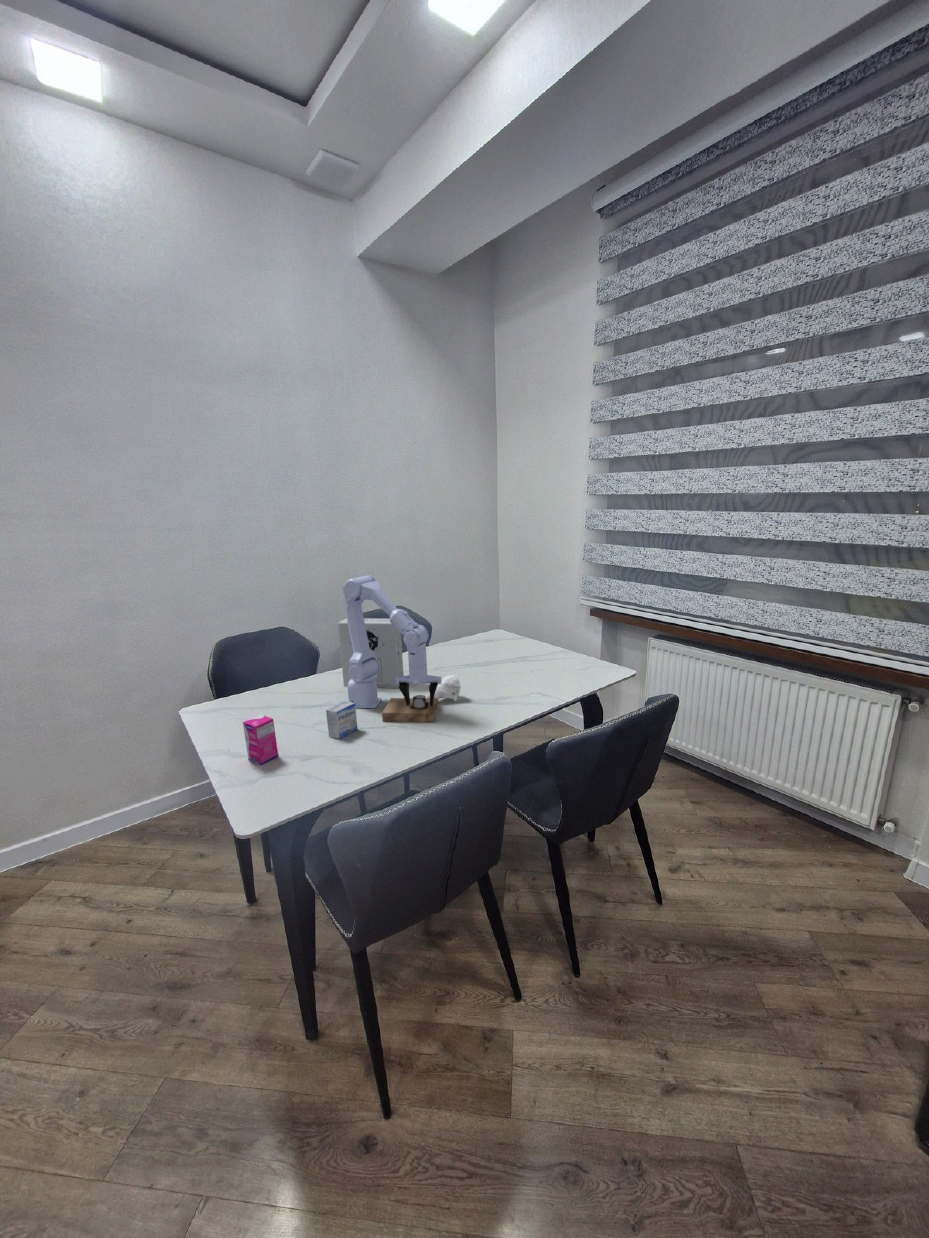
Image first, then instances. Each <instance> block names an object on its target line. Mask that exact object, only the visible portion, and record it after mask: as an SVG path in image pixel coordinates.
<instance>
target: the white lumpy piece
mask: <svg viewBox="0 0 929 1238" xmlns="http://www.w3.org/2000/svg"><path fill="white" fill-rule="evenodd" d="M461 687H462V686H461V684H460V680H459V678H458V677H456V675H453V674H451V675H450V674H449V675H447V676H444V677H443V678H442V682H441V684H438V686H437V688H436V691H435V695H434V698H438V700H440V699H451V700H452V702H454V703H455V702H457V700H458V698H459V696H460V692H461ZM426 698H430V692H428V693H427V695H426Z"/></svg>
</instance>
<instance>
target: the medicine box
mask: <svg viewBox="0 0 929 1238" xmlns="http://www.w3.org/2000/svg"><path fill="white" fill-rule="evenodd" d="M325 713H326V714H325V715H326V721H327V733H328V737H331V738H335V739H338V740H341V739H343V738H344V737H346V736H347V735H349V734H352V733H353V732H355V731H357V730H358V719H357V718H358V717H357V708H356V706H355V703H352V702H349V700H348V701H347V700H344V701H343V702H340V703H338V704H336V705H334V706H331V707H329V708H328V709H326V711H325Z"/></svg>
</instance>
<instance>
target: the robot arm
mask: <svg viewBox="0 0 929 1238" xmlns="http://www.w3.org/2000/svg"><path fill="white" fill-rule="evenodd" d="M342 590H343V591H342V592H343V608H344V612H345V617H346V618H347V623H348V628H349V633H350V638H351V643H352V648H353V655H352V657H351V659H350V661H349V664H350V668H349V674H350V677H351V678H352V679H350V681H349V683H348V686H347V696H348V701H349V702H352V703H355V706H356V709H359V708H360V709H376V708H377V707H378V705H379V703H380V702H381V701H382V697H379V696H378V688H377V682H376V677H377V673H378V672H379V670H380V664H379V662H378V660H377V658H376V654H375V653H374V652H372V651H371V650H370V648H369V643H368V638H367V633H366V627H365V622H364V614H363V613H364V612H363V608H362V604H363V603H364V602H365V601H366V600H368V601H372V602H374V603H375V605H377V606H378V607H379V608H380V609H381V610H382V611H383V612H385V614H386V615H388V616H389V619H390V623H391V624H392V625H393V626H394V627H395V628H396V629H397V630H398V631H399V632H400V633H401V636H402V637H403V639H402V640H403V643H404V645H405V646H406V651H407V658H408V659H407V660H408V672H409V673H408V675H404V676H397V677H396V684H399V688H398V689H399V691H400V692H401V694H402V695H403V698H405V701H406V704H407V705H409V704H410V698H411V695H410V684H414V685H416V684H417V685H418V684H419V685H420V684H429V686H428V691H429V692H430V706H432V705H433V700H434V695H435V691H436V688H437V686H438V684H441V682H442V680H443V678H442V676H439V675H438V676H437V675H432V674H431V675H430V674H428V662H427V659H428V657H427V641H428V640H429V638H430V634H429V630H428V629H427V627H426V626H424V625H422V624H419V623H417V622H416V621H415V620H414V619H413V618H412V617H411V616H410V615H409V613H408V611H407V610H405V609H402V608H397V607H396V605H395V604H394V603H393V602H392V600H391V599H390V598H389V597H388V595H387V594H386V593H385V592H384V591H383V590H382V588H381V586H380V582H379V581H378V580H376V578H375V577H374V576H373V575H371V574H366V575H364V576H359V577H355V578H349V579H347V580H346V581H345V583H343V585H342ZM346 618H345V619H346ZM429 692H428V693H429Z"/></svg>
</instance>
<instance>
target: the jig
mask: <svg viewBox="0 0 929 1238" xmlns="http://www.w3.org/2000/svg"><path fill="white" fill-rule="evenodd" d="M438 710H439V699H438V698H434V700H433V705H432V706H430V698H427V697H426V709H413V697H410V704H409V705H407V704H406V701H405V698H404V697H400V698H399V697H391V698H390V699H389V700H388V703H387V704H386V706H385V708H384V709H383V710H382V712H381V719H382V723H386V722H388V723H392V722H393V723H397V722H398V723H433V722H434V720H435V717H436V715H437V712H438Z"/></svg>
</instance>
